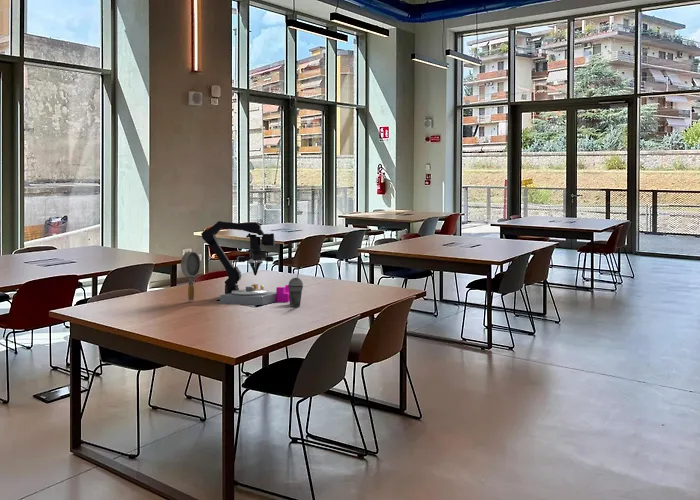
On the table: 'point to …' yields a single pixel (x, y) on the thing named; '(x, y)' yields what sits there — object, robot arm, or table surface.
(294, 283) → the beverage cup
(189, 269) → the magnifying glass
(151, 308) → the table surface
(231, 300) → the jig block
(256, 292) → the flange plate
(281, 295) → the toy block
